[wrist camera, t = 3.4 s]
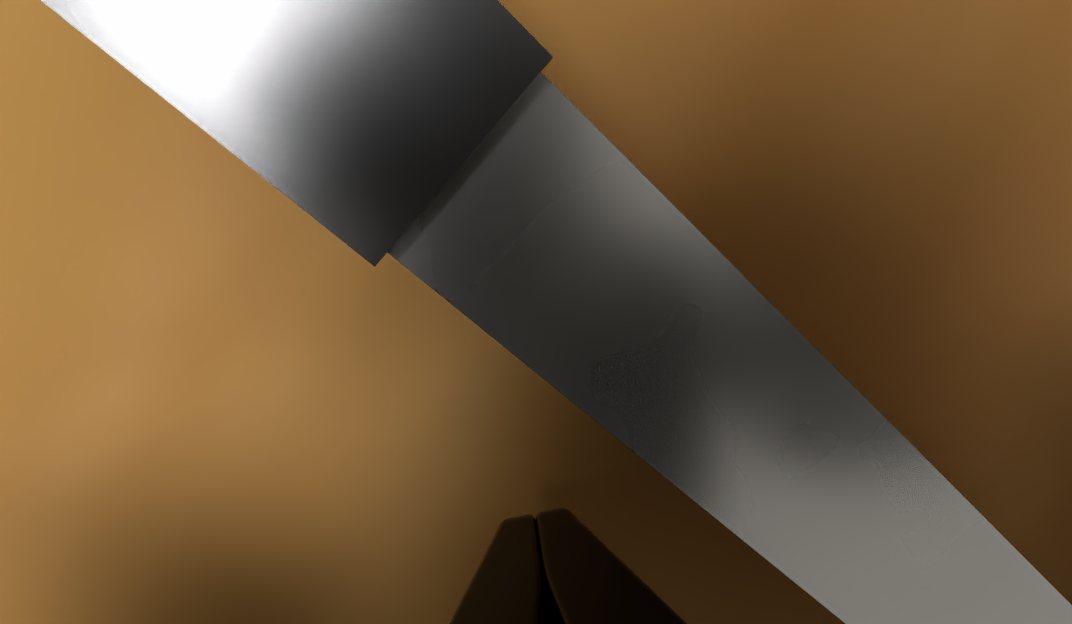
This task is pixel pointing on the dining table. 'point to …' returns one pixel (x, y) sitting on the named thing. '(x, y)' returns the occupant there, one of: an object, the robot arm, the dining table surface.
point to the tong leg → (576, 278)
